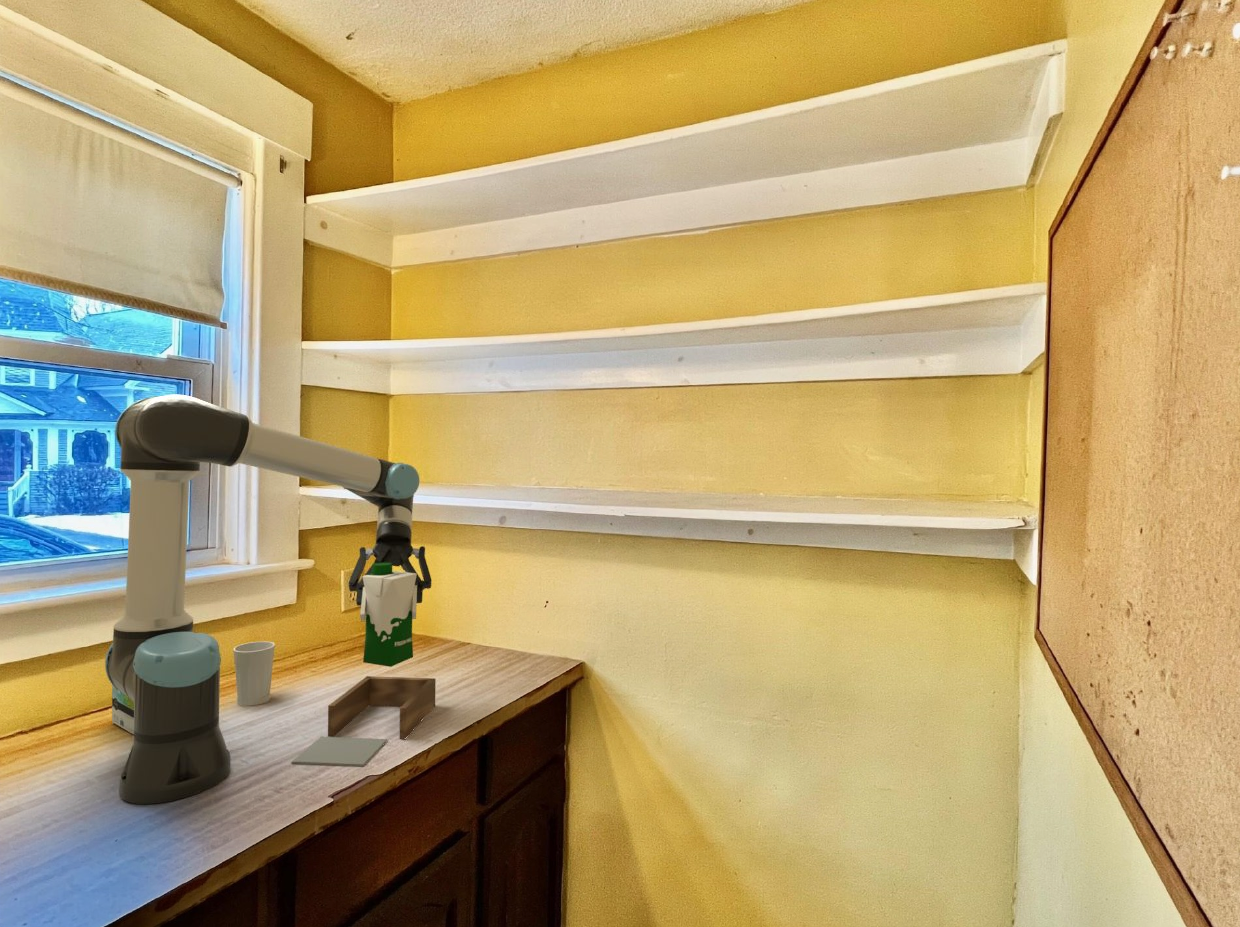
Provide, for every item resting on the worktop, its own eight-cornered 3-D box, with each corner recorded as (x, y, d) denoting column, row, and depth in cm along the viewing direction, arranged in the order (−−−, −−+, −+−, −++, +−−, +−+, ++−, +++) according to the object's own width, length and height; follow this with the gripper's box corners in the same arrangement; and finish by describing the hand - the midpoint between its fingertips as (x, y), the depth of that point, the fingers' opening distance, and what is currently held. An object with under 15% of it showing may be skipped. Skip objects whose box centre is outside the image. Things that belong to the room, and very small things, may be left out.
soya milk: (385, 651, 137) (387, 560, 137) (420, 656, 134) (422, 563, 134) (356, 663, 129) (358, 566, 129) (391, 669, 126) (393, 569, 126)
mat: (291, 763, 111) (291, 761, 111) (321, 738, 121) (321, 736, 121) (363, 766, 110) (363, 764, 110) (387, 741, 120) (387, 739, 120)
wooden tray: (327, 736, 122) (328, 705, 122) (366, 703, 139) (366, 676, 139) (405, 739, 121) (405, 708, 121) (435, 705, 138) (435, 678, 138)
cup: (277, 692, 144) (278, 640, 144) (269, 705, 137) (270, 650, 137) (238, 695, 142) (238, 642, 142) (228, 709, 134) (228, 653, 134)
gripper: (443, 540, 149) (443, 623, 134) (343, 541, 143) (331, 629, 128) (444, 519, 144) (445, 604, 129) (341, 520, 138) (328, 609, 123)
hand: (388, 616), depth 128 cm, fingers closed on soya milk, 9 cm apart
